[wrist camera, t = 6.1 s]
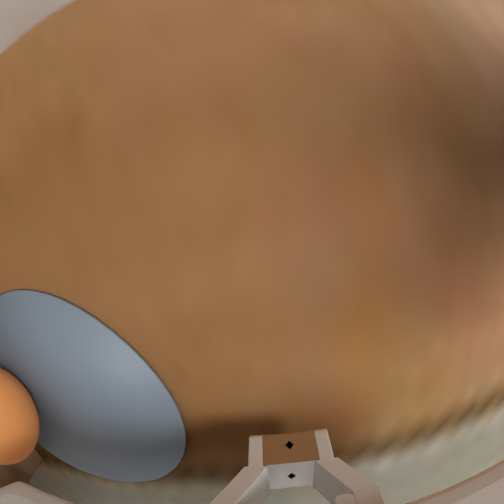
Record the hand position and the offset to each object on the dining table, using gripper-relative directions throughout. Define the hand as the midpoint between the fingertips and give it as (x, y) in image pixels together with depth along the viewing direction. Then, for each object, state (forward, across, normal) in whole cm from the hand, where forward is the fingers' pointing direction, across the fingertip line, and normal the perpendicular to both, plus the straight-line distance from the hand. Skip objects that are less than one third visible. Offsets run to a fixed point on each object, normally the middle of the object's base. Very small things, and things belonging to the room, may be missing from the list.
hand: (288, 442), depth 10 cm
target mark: (+2, -11, 0) cm, 11 cm away
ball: (-1, -15, +1) cm, 15 cm away
